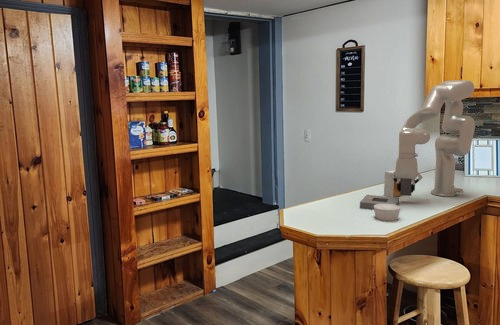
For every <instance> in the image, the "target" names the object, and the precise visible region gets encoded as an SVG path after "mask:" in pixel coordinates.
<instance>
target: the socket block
mask: <svg viewBox="0 0 500 325" xmlns="http://www.w3.org/2000/svg"><path fill="white" fill-rule="evenodd" d="M376 204H394V205H397V206H399V205H400V197H398V196H397V197H389V196H385V195H373V194H365V195H364V197H363V198H362V199H361V200H360V202H359V209H366V210H372V211H374V205H376Z"/></svg>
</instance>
